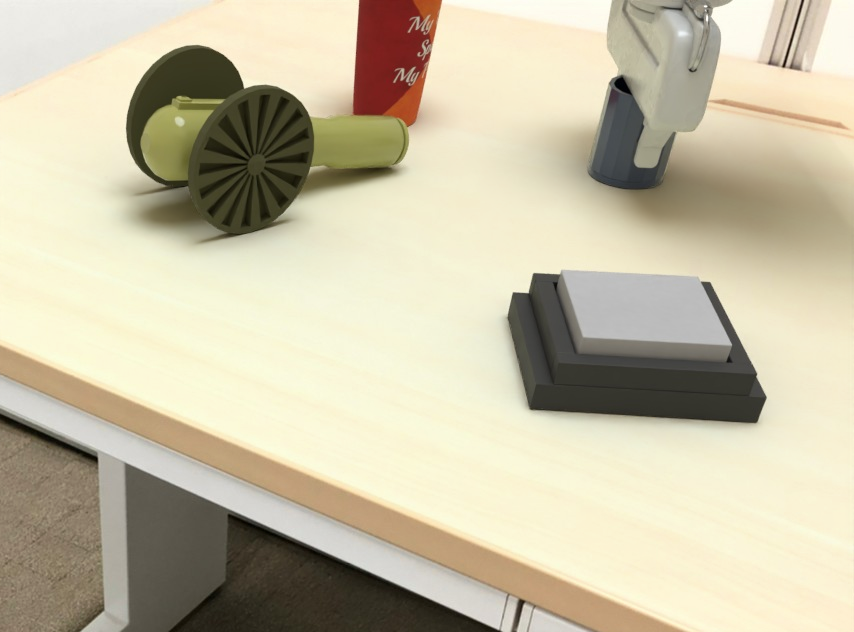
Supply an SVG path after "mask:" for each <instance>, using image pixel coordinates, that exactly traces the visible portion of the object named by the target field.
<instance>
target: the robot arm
mask: <svg viewBox="0 0 854 632" xmlns="http://www.w3.org/2000/svg"><path fill="white" fill-rule="evenodd" d="M732 1H733V0H611V3H610V9H609V15H608V21H607V26H606V27H607V28H606V49H607V51H608V53H609V54H610V55H611V58H612V60H613V62H614V64H615V66H616V67H617V73H616V76H619V75H622V76H623V78H624V80H625V82H626V84H627V86H628V87H629V89H630V91H631V93H632V95H633V97H634V98H635V100H636V102H637V104H638V106H639V108H640V110H641V111H642V113H643V115H644V117H645V118H644V121H643V125H644V129H643V131H642V134H641V136H640V139H639V140H638V139H636V142H635V145H634V151H633V153H632V159H633V161H634V163H635V165H636V166H637V167H640V168H653V167H655V166H656V165H657V163H658V160H659V157H660V154H661V150H662V148H663V146H664V145H665V143H666V142H667V140H668V139H669V137H670V136H671V134H672V133H673V132H677V133H691V132H694V131H696V129H697V128H698V127H699V126H700V124H701V123H702V121H703V119H704V116H705V113H706V110H707V106H708V103H709V98H710V94H711V90H712V87H713V83H714V79H715V74H716V70H717V66H718V62H719V58H720V53H721V45H722V33H721V32H722V31H721V29H720V27H719V25H718V24H717V22H716V21H715V20H714V19H713V17H712V15H713V12H714V8H715V9H716V8H719V7H723V6H726V5H728V4H730V3H731V2H732Z"/></svg>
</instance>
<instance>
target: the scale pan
mask: <svg viewBox="0 0 854 632" xmlns="http://www.w3.org/2000/svg"><path fill="white" fill-rule="evenodd" d="M559 274H560V277H559V281H558V285H557V289H556V294H557V297H558V301H559V304H560V307H561V310H562V314H563V317H564V320H565V323H566V326H567V330H568V333H569V336H570V339H571V343H572V346H573V349H574V352H575V354H585V355H602V356H620V357H638V358H655V359H673V360H691V361H708V362H726V361H727V358H728V356H729V353H730V350H731V347H732V344H731V342H730V340H729V338H728V336H727V334H726V332H725V330H724V328H723V326H722V324H721V322H720V320H719V318H718V316H717V314H716V312H715V310H714V308H713V306H712V304H711V301H710V299H709V297H708V295H707V293H706V291H705V289H704V287H703V285H702V283H701V279H700V278H699V276H696V275H677V274H676V275H675V274H657V273H637V272H635V273H634V272H616V271H600V270H599V271H598V270H597V271H596V270H595V271H594V270H577V269H576V270H575V269H561V270H560V272H559Z"/></svg>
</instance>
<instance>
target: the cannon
mask: <svg viewBox="0 0 854 632" xmlns="http://www.w3.org/2000/svg"><path fill="white" fill-rule="evenodd" d="M125 123H126V124H125V134H126V143H127V147H128V151H129V154H130V155H131V157H132V159H133V162H134V163H135V165H136V166H137V167H138V168H139V169H140V171H141V172H142V173H143V174H144V175H146V176H147V177H148V178H150V179H151V180H153V181H154V182H156V183H158V184H160V185H163V186H166V187H174V188H179V187H187V186H188V190H189V195H190V200H191V201H192V204H193V206H194V209H195V210H196V211H197V212H198V214H199V215H200V216H201V217H202V219H203V220H204V221H206V222H207V223H208V224H210V225H211V226H213V227H214V228H215V229H217V230H219V231H222V232H225V233H227V234H234V235H241V234H248V233H253V232H255V231H258V230H261V229H263V228H264V227H267V226H268V225H270V224H271V223H273V222H274V221H276V220H277V219H278V218H279V217H281V216H282V215H283V214H284V213H285V212H286V211H287V209H289V207H291V205H292V204H293V203H294V201H295V200H296V198H297V197H298V195H299V194H300V193H301V191H302V189H303V187H304V185H305V182H306V181H307V179H308V176H309V173H310V170H311V168H313V167H314V168H315V167H326V168H328V169H338V170H339V169H386V168H389V167H393V166H396V165H398V164H400V163H402V161H403V159H405V157H406V155H407V152H408V150H409V145H410V133H409V129H408V126H406V124H405V123H404V121H403V120H401V119H400V118H397V117H393V116H390V115H353V114H332V115H329V116H326V117H319V116H310V114H309V111H308V110H307V108H306V107H305V105H304V104H303V102H302V101H300V100H299V98H298V97H296V96H295V94H292V93H290V91H287V90H285V89H283V88H281V87H279V86H276V85H271V84H256V85H251V86H248V87H245V85H244V81H243V79H242V77H241V74H240V72H239V70H238V68H237V67H236V66H235V64H234V63H233V61H232V60H230V59H229V58H228V57H227V56H226V55H224V54H223V53H222V52H221V51H217V50H216V49H214V48H211V47H210V46H207V45H206V46H205V45H200V44H191V45H190V44H189V45H184V46H180V47H177V48H174V49H172V50H171V51H169V52H167V53H165V54H163V55H162V56H161V57H160V58H158V59H157V60H156V61H155V62H154V63H152V65H151V66H150V67H149V68H148V69H147V70H146V71H145V72H144V74H143V76H142V77H141V79H140V80H139V82H138V83H137V85H136V86H135V89H134V91H133V94H132V96H131V98H130V100H129V105H128V108H127V113H126V122H125Z"/></svg>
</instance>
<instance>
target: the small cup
mask: <svg viewBox="0 0 854 632" xmlns="http://www.w3.org/2000/svg"><path fill="white" fill-rule="evenodd" d="M644 118H645V117H644V115H643V113H642V111H641V110H640V108H639V106H638V104H637V102H636V100H635V98H634V97H633V95H632V93H631V91H630V89H629V87H628V86H627V84H626V82H625V80H624V78H623V76H622V75H619V76H617V75H616V76H614V77H612V78H611V79H610V81H609V82H608V84H607V89H606V92H605V96H604V101H603V105H602V108H601V113H600V116H599V119H598V120H599V121H598V124H597V128H596V132H595V137H594V140H593V145H592V148H591V152H590V156H589V160H588V167H587V172H588V174H589V176H590V177H592V178H593V179H594V180H596V181H598V182H600V183H601V184H605V185H607V186H610V187H615V188H620V189H628V190H643V189H651V188H654V187H656V186H658V185H661V183H662V182H663V181H664V177H665V175H666V172H667V170H668V166H669V163H670V159H671V155H672V153H673V149H674V147H675V146H674V145H675V142H676V139H677V136H678V132H673V133H672V134H671V136H670V137H669V139H668V140H667V142H666V143H665V145H664V146H663V148H662V150H661V154H660V157H659V160H658V163H657V165H656V166H655V167H653V168H640V167H637V166H636V165H635V163H634V161H633V159H632V153H633V151H634V145H635V142H636V139H638V140H639V139H640V136H641V134H642V131H643V129H644V125H643V121H644Z"/></svg>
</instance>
